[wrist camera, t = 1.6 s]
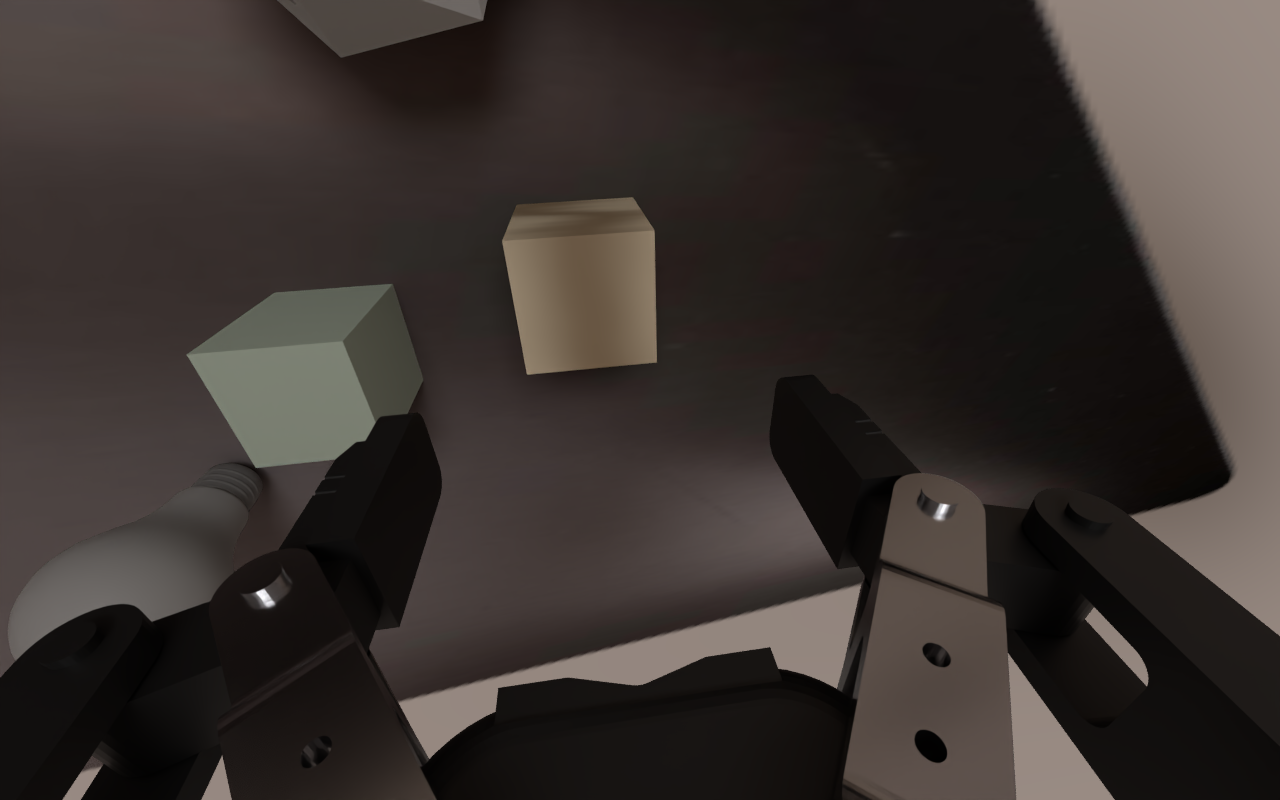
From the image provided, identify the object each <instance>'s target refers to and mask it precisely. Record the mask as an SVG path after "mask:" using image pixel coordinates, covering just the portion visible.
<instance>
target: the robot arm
mask: <svg viewBox="0 0 1280 800" xmlns="http://www.w3.org/2000/svg"><path fill="white" fill-rule="evenodd" d="M881 431H882V430H881V429H880V428H879V427H878V426H877V425H876V424H875V423H874V422H871V419H870V418H869V417H868V415H867V414H866V413H865V412H864V411H863V410H862V409H861V408H860V407H859V406H858V405H857V404H855V403H853V402H852V401H850V400H848V399H846V398H845V397H843V396H841V395H839V394H831V393H830V392H829V391H828V390H827V389H826V388H825V387H824V385H823V384H822V383H821V382H820V381H819V380H818V379H817V378H816V377H815V376H814V375H804V376H794V377H784V378H780V379H779V380H778V381H777V384H776V388H775V396H774V403H773V411H772V418H771V426H770V446H771V451H772V454H773V457H774V459H775V461H776V462H777V464H778V466H779V468H780V469H781V471H782V473H783V475H784V476H785V478H786V480H787V482H788V483H789V485H790V487H791V489H792V490H793V492H794V494H795V496H796V497H797V499H798V501H799V503H800V504H801V506H802V508H803V510H804V511H805V513H806V515H807V517H808V518H809V520H810V522H811V524H812V525H813V527H814V529H815V531H816V532H817V534H818V536H819V538H820V539H821V541H822V543H823V545H824V546H825V548H826V550H827V552H828V553H829V555H830V557H831V559H832V560H833V562H834V564H835V566H836V567H837V569H842V568H849V567H856V566H859V567H860V569H861V570H862V572H863V573H864V575H865V576H864V579H863V582H862V585H861V589H860V593H859V598H858V603H857V607H856V612H855V616H854V620H853V625H852V629H851V634H850V638H849V643H848V647H847V652H846V657H845V661H844V665H843V669H842V673H841V676H840V680H839V683H838V687H837V689H836V688H834V687H832V686H830V685H828V684H826V683H824V682H822V681H820V680H817V679H815V678H812V677H810V676H807V675H804V674H800V673H796V672H792V671H788V670H782V669H778V667H777V665H776V662H775V659H774V656H773V654H772V651H771V648H770V647H769V648H763V649H756V650H749V651H742V652H736V653H729V654H722V655H716V656H709V657H705V658H703V659H700V660H698V661H696V662H693V663H691V664H689V665H687V666H685V667H683V668H680V669H678V670H676V671H673V672H671V673H669V674H667V675H664V676H662V677H660V678H658V679H655V680H653V681H651V682H649V683H646V684H643V685H638V686H637V685H636V686H635V685H625V684H617V683H608V682H600V681H592V680H584V679H575V678H562V679H556V680H548V681H542V682H535V683H529V684H522V685H515V686H509V687H502V688H498V696H497V705H496V712H494V713H492V714H490V715H488V716H486V717H484V718H482V719H480V720H479V721H477V722H475V723H474V724H472V725H470V726H468V727H467V728H466V729H464V730H463V731H462V732H460V733H459V734H457V735H456V736H455V737H453V738H452V739H451V740H450V741H449V742H447V743H446V744H445V745H444V746H443V747H442V748H441V749H440V750H438V751H437V752H436V753H435V754H434V755H433V756H432V757H431V758H430V759H429V758H428V756H427V754H426V753H425V751H424V749H423V747H422V746H421V744H420V742H419V740H418V738H417V737H416V735H415V733H414V731H413V729H412V728H411V726H410V724H409V722H408V720H407V718H406V716H405V714H404V713H403V711H402V709H401V707H400V705H399V703H398V701H397V699H396V697H395V696H394V694H393V692H392V690H391V688H390V686H389V684H388V682H387V680H386V679H385V677H384V675H383V673H382V671H381V669H380V667H379V665H378V663H377V662H376V660H375V658H374V656H373V654H372V652H371V651H370V649H369V646H370V643H371V641H372V638H373V635H374V632H375V630H381V629H388V628H396V627H399V626H400V623H401V620H402V617H403V614H404V610H405V607H406V604H407V601H408V598H409V594H410V591H411V588H412V585H413V582H414V578H415V575H416V572H417V569H418V566H419V562H420V559H421V556H422V553H423V550H424V546H425V543H426V540H427V537H428V534H429V531H430V527H431V524H432V521H433V518H434V515H435V511H436V508H437V505H438V502H439V499H440V495H441V489H442V477H441V471H440V467H439V464H438V461H437V458H436V455H435V452H434V449H433V446H432V443H431V440H430V437H429V434H428V431H427V428H426V425H425V422H424V420H423V418H422V416H421V415H420V414H419V413H410V414H399V415H389V416H381V417H380V418H378V420H377V421H376V423H375V425H374V427H373V428H372V430H371V432H370V433H369V435H368V437H367V439H366V440H365V441H360V442H356V443H354V444H353V445H352V446H351V447H349V448H348V449H347V450H346V451H345V452H343V453H342V454H341V455H340V456H339V457H337V458H336V460H335V461H334V463H333V464H332V466H331V468H330V469H329V471H328V472H327V474H326V475H325V480H322V482H321V483H320V485H319V487H318V488H317V490H316V491H315V493H316V495H315V496H312V498H311V499H310V501H309V502H308V504H307V506H306V507H305V509H304V510H303V512H302V513H301V515H300V517H299V518H298V520H297V521H296V523H295V525H294V526H293V528H292V529H291V531H290V532H289V534H288V536H287V537H286V539H285V540H284V542H283V544H282V545H281V547H280V548H279V550H277V551H273V552H270V553H268V554H265V555H262V556H260V557H258V558H256V559H254V560H252V561H250V562H248V563H247V564H245V565H244V566H242V567H241V568H239V569H238V570H236V571H235V572H234V573H233V574H231V575H230V576H229V577H228V578H227V579H226V580H225V581H224V582H223V583H222V584H221V585H220V586H219V588H218V589H217V590H216V592H215V593H214V595H213V597H212V599H211V601H209V602H206V603H203V604H200V605H198V606H195V607H192V608H189V609H186V610H183V611H181V612H178V613H175V614H172V615H169V616H166V617H164V618H161V619H158V620H155V621H151V620H150V619H149V618H148V617H147V616H146V615H145V614H144V613H143V612H142V611H141V610H140V609H139V608H137V607H136V606H134V605H130V604H115V605H109V606H105V607H101V608H98V609H95V610H92V611H89V612H87V613H84V614H82V615H80V616H78V617H76V618H74V619H71V620H69V621H68V622H66V623H64V624H62V625H61V626H59V627H57V628H56V629H54V630H52V631H51V632H49V633H48V634H46V635H45V636H44V637H42V638H41V639H40V640H38V641H37V642H36V643H34V644H33V645H32V646H31V647H30V648H29V649H27V650H26V651H25V652H24V653H23V654H22V655H21V656H20V657H19V658H18V659H17V660H16V661H15V662H14V663H13V664H12V666H11V667H10V668H9V669H8V670H7V671H6V672H5V673H4V674H3V675H2V677H1V678H0V800H62V799H63V797H64V796H65V795H66V793H67V792H68V790H69V789H70V787H71V786H72V784H73V783H74V781H75V780H76V778H77V777H78V775H79V774H80V772H81V771H82V769H83V768H84V766H85V765H86V763H87V762H88V760H89V759H90V757H91V756H93V757H95V758H96V759H98V760H99V761H101V762H102V763H104V764H103V766H102V767H101V769H100V771H99V772H98V774H97V775H96V777H95V778H94V780H93V782H92V783H91V785H90V786H89V788H88V789H87V791H86V792H85V794H84V796H83V797H82V799H81V800H201V799H202V797H203V795H204V793H205V790H206V788H207V786H208V784H209V782H210V780H211V778H212V775H213V773H214V771H215V769H216V767H217V765H218V763H219V760H220V758H221V756H223V760H224V764H225V770H226V774H227V779H228V784H229V788H230V793H231V798H232V800H1016V788H1015V770H1014V754H1013V736H1012V720H1011V702H1010V685H1009V667H1008V653H1009V655H1010V656H1011V658H1012V659H1013V660H1014V662H1015V663H1016V664H1017V665H1018V667H1019V669H1020V670H1021V671H1022V673H1023V674H1024V675H1025V677H1026V678H1027V680H1028V681H1029V682H1030V684H1031V685H1032V686H1033V688H1034V689H1035V691H1036V692H1037V693H1038V695H1039V696H1040V697H1041V699H1042V700H1043V701H1044V703H1045V704H1046V706H1047V707H1048V708H1049V710H1050V711H1051V713H1052V714H1053V715H1054V717H1055V718H1056V719H1057V721H1058V722H1059V724H1060V725H1061V726H1062V728H1063V729H1064V731H1065V732H1066V733H1067V735H1068V736H1069V737H1070V739H1071V740H1072V742H1073V743H1074V744H1075V745H1076V747H1077V748H1078V750H1079V751H1080V753H1081V754H1082V755H1083V757H1084V758H1085V759H1086V761H1087V762H1088V763H1089V765H1090V766H1091V768H1092V769H1093V770H1094V772H1095V773H1096V775H1097V776H1098V777H1099V779H1100V780H1101V781H1102V783H1103V784H1104V786H1105V787H1106V788H1107V790H1108V791H1109V792H1110V794H1111V795H1112V796H1113V798H1114V799H1115V800H1280V636H1279V635H1278V634H1276V633H1275V632H1274V631H1272V630H1271V629H1270V628H1269V627H1268V626H1266V625H1265V624H1264V623H1262V622H1261V621H1260V620H1258V619H1257V618H1256V617H1255V616H1254V615H1253V614H1251V613H1250V612H1249V611H1248V610H1246V609H1245V608H1244V607H1243V606H1241V605H1240V604H1239V603H1237V602H1236V601H1235V600H1234V599H1233V598H1231V597H1230V596H1229V595H1228V594H1226V593H1225V592H1224V591H1223V590H1221V589H1220V588H1219V587H1218V586H1216V585H1215V584H1214V583H1213V582H1211V581H1210V580H1209V579H1208V578H1206V577H1205V576H1204V575H1202V574H1201V573H1200V572H1199V571H1198V570H1196V569H1195V568H1194V567H1193V566H1191V565H1190V564H1189V563H1188V562H1186V561H1185V560H1184V559H1183V558H1181V557H1180V556H1179V555H1178V554H1176V553H1175V552H1174V551H1173V550H1171V549H1170V548H1169V547H1168V546H1166V545H1165V544H1164V543H1163V542H1161V541H1160V540H1159V539H1158V538H1156V537H1155V536H1154V535H1153V534H1151V533H1150V532H1149V531H1148V530H1146V529H1145V528H1144V527H1143V526H1141V525H1140V524H1139V523H1138V522H1136V521H1135V520H1134V519H1133V518H1131V517H1130V516H1129V515H1128V514H1126V513H1125V512H1124V511H1122V510H1121V509H1119V508H1118V507H1116V506H1114V505H1113V504H1111V503H1109V502H1107V501H1105V500H1103V499H1101V498H1098V497H1096V496H1093V495H1091V494H1088V493H1084V492H1081V491H1077V490H1072V489H1064V488H1051V489H1046V490H1043V491H1041V492H1039V493H1038V494H1037V495H1036V497H1035V499H1034V500H1033V502H1032V504H1031V506H1030V508H1029V509H1020V508H1011V507H1003V506H994V505H986V504H982V503H981V501H980V500H979V499H978V498H977V497H976V496H975V494H973V493H972V492H971V491H970V490H969V489H967V488H966V487H964V486H962V485H961V484H959V483H957V482H955V481H953V480H950V479H948V478H945V477H942V476H938V475H933V474H927V473H921V472H920V471H919V470H918V469H917V468H916V467H915V466H914V465H913V463H912V462H911V461H910V460H909V459H908V458H907V457H906V456H905V455H904V454H903V453H902V452H901V451H900V450H899V449H898V447H897V446H896V445H895V444H894V443H893V442H892V441H891V440H890V439H889V438H888V437H887V436H886V435H885V434H882V432H881ZM1094 607H1095V608H1096V609H1097V610H1098V611H1099V612H1100V613H1101V614H1102V615H1103V616H1104V618H1105V619H1107V621H1108V622H1109V623H1110V624H1111V625H1112V626H1113V627H1114V628H1115V629H1116V630H1117V631H1118V632H1119V633H1120V634H1121V635H1122V636H1123V637H1124V638H1125V639H1126V640H1127V641H1128V643H1129V644H1130V645H1131V646H1132V647H1133V648H1134V649H1135V650H1136V651H1137V652H1138V654H1139V655H1140V657H1141V658H1142V660H1143V662H1144V663H1145V666H1146V668H1147V672H1148V677H1149V680H1148V686H1146V685H1145V684H1144V683H1143V682H1142V681H1141V680H1140V679H1139V678H1138V677H1137V676H1136V674H1135V673H1134V672H1133V671H1132V670H1131V669H1130V668H1129V667H1128V666H1127V665H1126V664H1125V662H1123V660H1122V659H1121V658H1120V657H1119V656H1118V655H1117V654H1116V653H1115V652H1114V651H1113V650H1112V648H1111V647H1110V646H1109V645H1108V644H1107V643H1106V642H1105V641H1104V640H1103V638H1102V637H1101V636H1100V635H1099V634H1098V633H1097V632H1096V631H1095V630H1094V629H1093V628H1092V626H1091V625H1090V624H1089V623H1087V621H1086V620H1085V618H1086V617H1087V615H1088V614H1089V613H1090V612H1091V610H1092V609H1093V608H1094Z"/></svg>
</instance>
